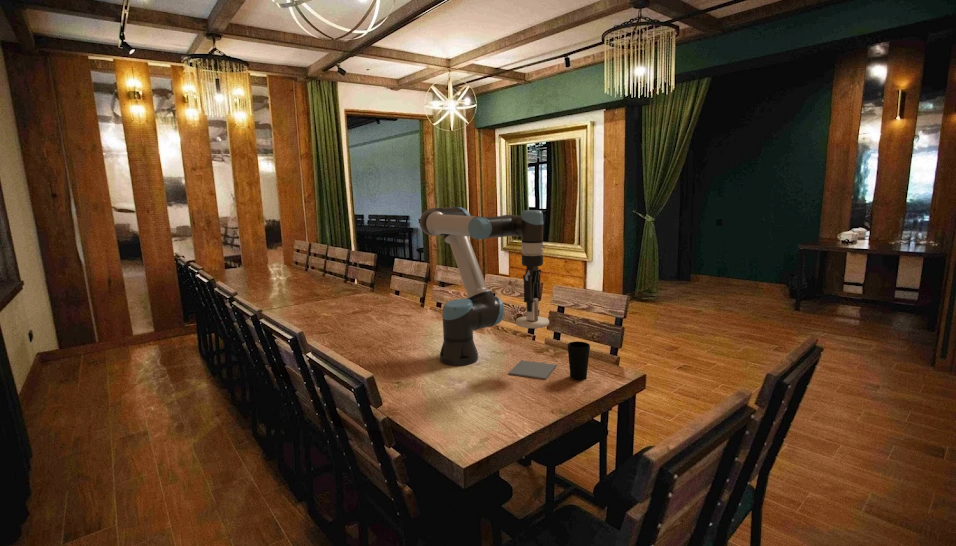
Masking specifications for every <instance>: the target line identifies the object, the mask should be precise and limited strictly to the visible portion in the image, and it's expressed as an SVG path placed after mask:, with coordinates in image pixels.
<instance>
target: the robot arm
mask: <svg viewBox="0 0 956 546" xmlns="http://www.w3.org/2000/svg"><path fill="white" fill-rule="evenodd" d="M544 222H545V221H544V214H543V211H542V210H539V209H538V210H537V209H534V210H533V209H529V210H526V209H525V210H522V212H521V215H514V214H504V215H496V216H473V215H471V214H470V212H469V210H467V209H466V208H464V207H461V206H451V207H433V208H428V209H427V210H425V211H424V212H423V213H422V214H421V215H420V217H419V227H420V229H421V231H422V232H424V233H425V235H428V236H431V237H433V236H434V237H437V236H439V237H440V236H443V240H444V242H445V243H446V244H449V246H450V249H451V251H452V253H453V257H454V259H455V263H456V266H457V269H458V271H459V274H460V276H461V280H462V283H463V286H464V289H465V292H466V295H467V296H466V298H456V299H452V300H449V301H447V302H445V304H444V305H443V307H442V314H441V317H442V332H443V333H442V334H443V342H442V346H441V349H440V351H439V352H440V353H439V362H441V364H444V365H448V366H456V367H457V366H467V365H471V364H474V363H476V362H477V361H478V360H479V352H478V350H477V347H476V344H475V342H474V331H478V330H482V329H485V328H491V327H494V326H496V325H499V324H500V323H502V320H503V319H504V315H505V306H504V303H503V300H502V299H501V298H500V297H498V296H495V295H494V292H493V290H491V289H489V288H488V286H487V284H486V281H485V278H484V276H483V272H482V271H481V267H480V264H479V261H478V259H477V257H476V253H475V251H474V248H473V246H472V242H471V240H470V238H472V239H474V240H486V239H494V238H503V237H505V238H506V237H507V238H508V237H520V238H521V254H522V255H521V265H522V266H524V267H526V268H525V269H526V270H525V273H524V274H522V278H523V303H526V304H525V306H526V309H525V310H526V313H525V314H526V320H533V321H534V302H533V298H538V300H541V274H542V270H541V269H539V267H541V266H543V264H544V255H543V253H544V248H545V245H543V244H544ZM424 233H423V234H424Z"/></svg>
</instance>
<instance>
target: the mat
mask: <svg viewBox="0 0 956 546" xmlns="http://www.w3.org/2000/svg"><path fill="white" fill-rule="evenodd" d="M556 367H558V365H557V364H554V363H545V362H538V361H531V360H524V359H523V360H522V359H521V360H520V361H519V362H518V363H517V364H516V365H515V366H514V367H513V368H511V369H510V371H509V372H508V373H507V374H508V375H511V376H519V377H525V378H531V379H538V380H539V379H540V380H548V378H549V377H550V375H551V374H552V373H553V372H554V370H555V369H556Z"/></svg>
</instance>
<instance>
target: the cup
mask: <svg viewBox="0 0 956 546" xmlns="http://www.w3.org/2000/svg"><path fill="white" fill-rule="evenodd" d="M590 350H591V344H590V343H588V342H585V341H577V340H576V341H570V342H568V343H567V352H568V353H567V354H568V363H569V364H568V366H569V375H570V376H569V378H570V379H571V380H573V381H577V382H578V381H579V382H580V381H585V380H587V377H588V376H587V375H588V368H589V359H590Z"/></svg>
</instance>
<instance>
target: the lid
mask: <svg viewBox="0 0 956 546" xmlns="http://www.w3.org/2000/svg"><path fill="white" fill-rule="evenodd" d="M533 302H534V321H533V320H526V316H520V317H518V318H516V319H515V325H516V326H517V327H520V328H524V329H541V328H546V327H548V326H549V325H550V320H549V318H547V317H543V316H539V299H538V298H533Z"/></svg>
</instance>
